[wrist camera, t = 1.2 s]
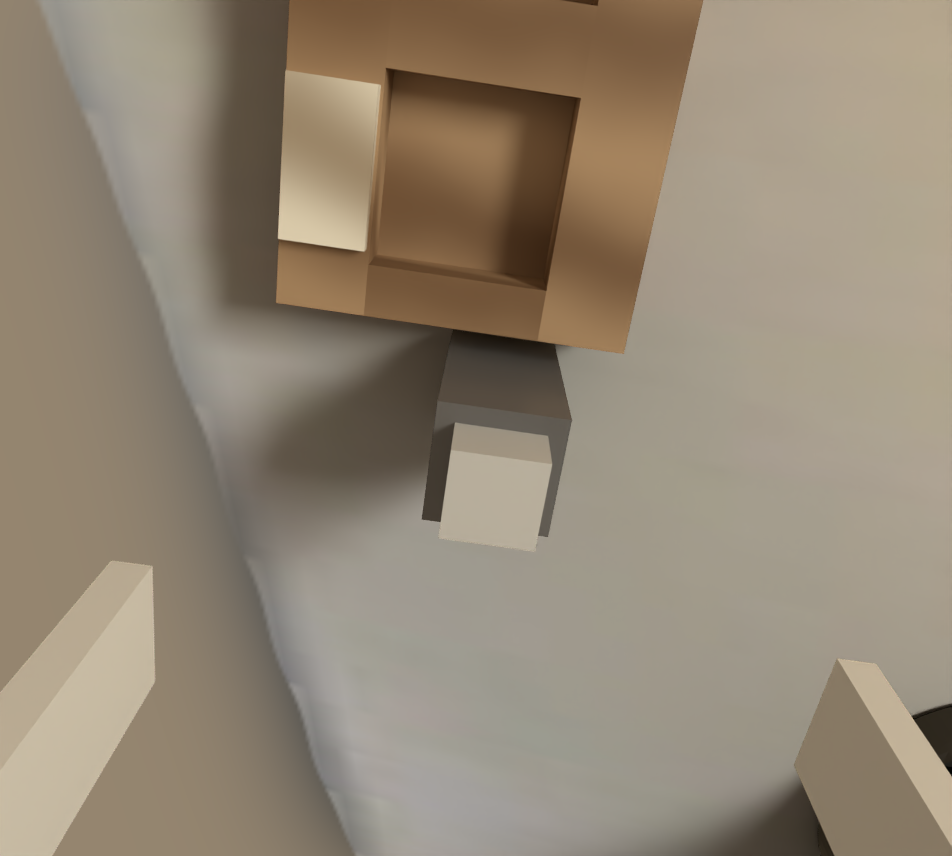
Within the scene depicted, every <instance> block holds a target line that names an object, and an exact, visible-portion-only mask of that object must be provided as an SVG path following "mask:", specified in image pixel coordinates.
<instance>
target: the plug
mask: <svg viewBox="0 0 952 856" xmlns="http://www.w3.org/2000/svg"><path fill="white" fill-rule="evenodd" d="M571 422H572V419H571V415H570V410H569V406H568V401H567V397H566V393H565V388H564V384H563V380H562V375H561V371H560V367H559V362H558V358H557V353H556V349H555V345H554V344H549V343H542V342H536V341H529V340H522V339H515V338H508V337H502V336H495V335H488V334H481V333H474V332H467V331H461V330H454V329H453V331H452V336H451V341H450V345H449V350H448V354H447V359H446V364H445V368H444V373H443V377H442V382H441V387H440V391H439V396H438V401H437V408H436V415H435V423H434V431H433V438H432V446H431V453H430V461H429V468H428V476H427V484H426V491H425V499H424V506H423V514H422V519H423V520H430V521H437V522H441V523H440V530H439V537H438V538H441V539H448V540H455V541H462V542H469V543H477V544H484V545H491V546H498V547H505V548H512V549H520V550H527V551H534V552H535V548H536V543H537V538H538V536H545V537H548V534H549V529H550V524H551V519H552V514H553V509H554V505H555V500H556V495H557V490H558V485H559V480H560V475H561V470H562V466H563V461H564V456H565V451H566V446H567V441H568V436H569V431H570V427H571Z"/></svg>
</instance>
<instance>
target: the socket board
mask: <svg viewBox="0 0 952 856" xmlns="http://www.w3.org/2000/svg"><path fill="white" fill-rule="evenodd" d="M702 3H703V0H289V19H288V42H287V64H286V70H285V88H284V111H283V134H282V157H281V180H280V203H279V226H278V239H279V246H278V269H277V292H276V303H281V304H288V305H294V306H301V307H308V308H315V309H322V310H329V311H335V312H342V313H349V314H356V315H363V316H369V317H376V318H383V319H390V320H397V321H404V322H410V323H417V324H424V325H431V326H438V327H444V328H451V329H458V330H465V331H472V332H479V333H485V334H492V335H499V336H506V337H513V338H519V339H526V340H533V341H540V342H547V343H554V344H560V345H567V346H574V347H581V348H588V349H594V350H601V351H608V352H615V353H622V354H624V350H625V345H626V341H627V336H628V332H629V328H630V323H631V319H632V314H633V310H634V305H635V301H636V296H637V292H638V288H639V283H640V279H641V274H642V270H643V265H644V261H645V257H646V252H647V248H648V243H649V239H650V234H651V230H652V225H653V221H654V217H655V212H656V208H657V203H658V199H659V194H660V190H661V185H662V181H663V177H664V172H665V168H666V163H667V159H668V154H669V150H670V145H671V141H672V137H673V132H674V128H675V123H676V119H677V114H678V110H679V106H680V101H681V97H682V92H683V88H684V83H685V79H686V74H687V70H688V66H689V61H690V57H691V52H692V48H693V43H694V39H695V34H696V30H697V26H698V21H699V17H700V12H701V8H702Z"/></svg>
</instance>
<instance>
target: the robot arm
mask: <svg viewBox="0 0 952 856" xmlns="http://www.w3.org/2000/svg"><path fill="white" fill-rule="evenodd" d="M152 567H153V566H149V565H142V564H135V563H127V562H120V561H110V563H109V564H108V565H107V566H106V567H105V568H104V570H103V571H102V572H101V573H100V574H99V576H98V577H97V578H96V579H95V580H94V581H93V583H92V584H91V585H90V586H89V587H88V589H87V590H86V591H85V592H84V593H83V595H82V596H81V597H80V598H79V599H78V601H77V602H76V603H75V604H74V605H73V606H72V608H71V609H70V610H69V611H68V612H67V614H66V615H65V616H64V617H63V618H62V619H61V621H60V622H59V623H58V624H57V625H56V627H55V628H54V629H53V630H52V631H51V633H50V634H49V635H48V636H47V637H46V639H45V640H44V641H43V642H42V643H41V644H40V645H39V647H38V648H37V649H36V650H35V651H34V653H33V654H32V655H31V656H30V657H29V659H28V660H27V661H26V662H25V663H24V664H23V666H22V667H21V668H20V669H19V670H18V672H17V673H16V674H15V675H14V676H13V677H12V679H11V680H10V681H9V682H8V683H7V685H6V686H5V687H4V688H3V689H2V691H1V692H0V856H52V855H53V853H54V852H55V850H56V848H57V846H58V845H59V843H60V842H61V840H62V838H63V837H64V835H65V833H66V831H67V830H68V828H69V826H70V825H71V823H72V821H73V820H74V818H75V816H76V815H77V813H78V811H79V809H80V807H81V806H82V804H83V803H84V801H85V799H86V798H87V796H88V794H89V793H90V791H91V789H92V788H93V786H94V784H95V782H96V781H97V779H98V777H99V776H100V774H101V772H102V770H103V769H104V767H105V766H106V764H107V762H108V760H109V759H110V757H111V755H112V754H113V752H114V750H115V749H116V747H117V745H118V744H119V742H120V740H121V739H122V737H123V735H124V733H125V732H126V730H127V728H128V726H129V725H130V723H131V721H132V720H133V718H134V717H135V715H136V713H137V711H138V709H139V708H140V706H141V705H142V703H143V701H144V700H145V698H146V696H147V695H148V693H149V691H150V689H151V688H152V686H153V684H154V683H155V654H154V653H155V652H154V611H153V569H152ZM794 766H795V769H796V771H797V773H798V775H799V778H800V780H801V782H802V784H803V787H804V789H805V791H806V793H807V796H808V798H809V800H810V802H811V804H812V807H813V809H814V811H815V813H816V816H817V818H818V820H819V824H818V843H819V849H820V853H821V856H952V707H949V708H946V709H942V710H939V711H935V712H933V713H930V714H927V715H924V716H922V717H919V718H917V719H914V720H913V718H912V717H911V715H910V714H909V712H908V711H907V709H906V708H905V706H904V705H903V703H902V702H901V700H900V699H899V697H898V696H897V694H896V693H895V691H894V690H893V688H892V687H891V686H890V684H889V683H888V681H887V680H886V678H885V677H884V675H883V674H882V672H881V671H880V669H879V668H878V666H877V665H876V664H874V663H867V662H859V661H852V660H844V659H837V660H836V662H835V665H834V667H833V670H832V672H831V675H830V677H829V680H828V682H827V685H826V687H825V689H824V692H823V694H822V697H821V699H820V702H819V704H818V707H817V709H816V712H815V714H814V717H813V719H812V721H811V724H810V726H809V729H808V731H807V734H806V736H805V739H804V741H803V744H802V746H801V749H800V751H799V754H798V756H797V758H796V761H795V763H794Z"/></svg>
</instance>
